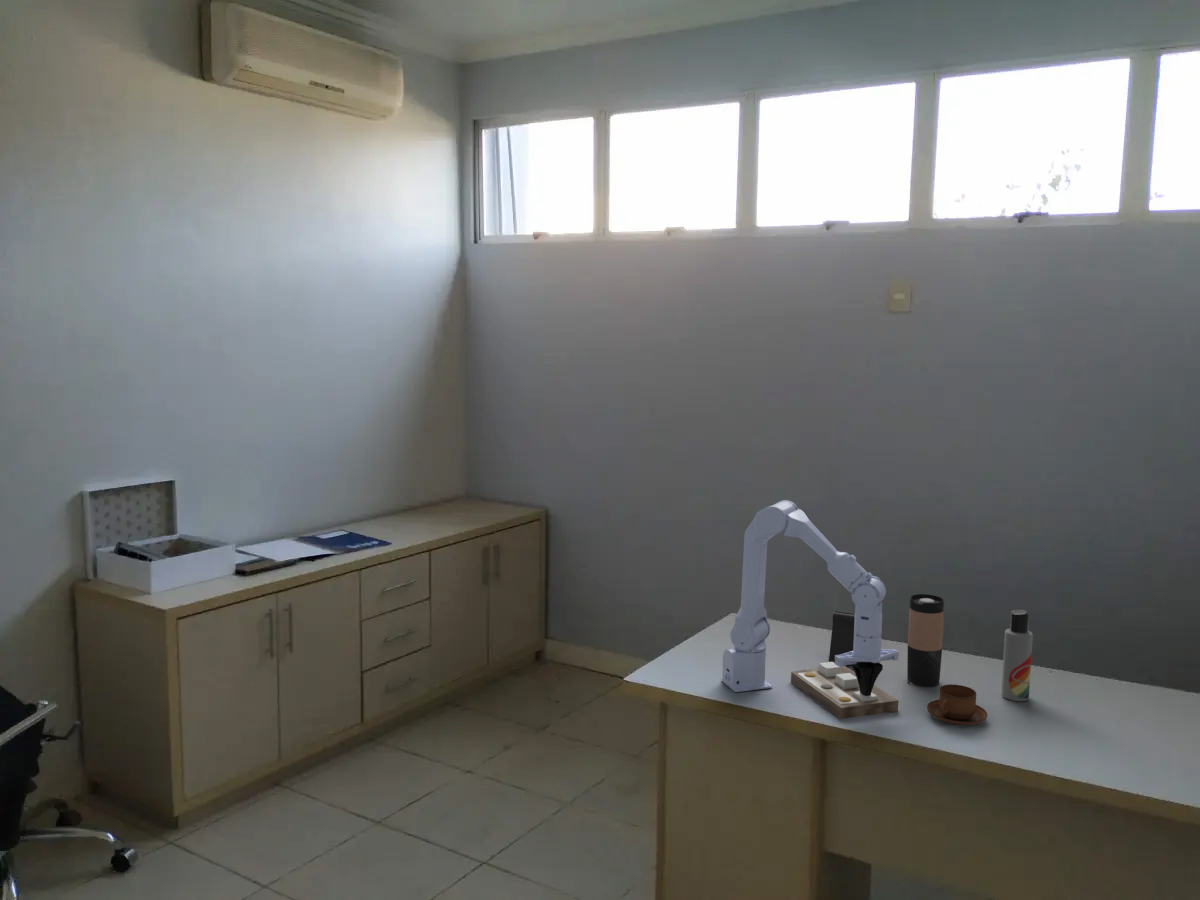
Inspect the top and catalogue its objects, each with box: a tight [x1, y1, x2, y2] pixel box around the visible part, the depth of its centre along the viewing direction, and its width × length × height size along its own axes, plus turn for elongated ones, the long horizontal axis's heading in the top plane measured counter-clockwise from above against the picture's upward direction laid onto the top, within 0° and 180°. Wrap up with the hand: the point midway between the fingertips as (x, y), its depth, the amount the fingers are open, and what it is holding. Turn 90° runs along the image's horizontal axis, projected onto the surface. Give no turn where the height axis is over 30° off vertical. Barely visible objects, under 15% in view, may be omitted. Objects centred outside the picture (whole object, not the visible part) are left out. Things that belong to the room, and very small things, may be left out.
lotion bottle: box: [1001, 609, 1034, 702], centre depth 210 cm, size 6×6×20 cm
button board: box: [790, 666, 899, 720], centre depth 211 cm, size 14×22×3 cm, turn 17°
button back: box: [818, 661, 841, 677], centre depth 218 cm, size 4×4×3 cm
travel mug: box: [906, 593, 945, 688], centre depth 219 cm, size 8×8×20 cm
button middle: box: [835, 673, 858, 689], centre depth 211 cm, size 4×4×3 cm
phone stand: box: [828, 610, 855, 668], centre depth 234 cm, size 9×6×12 cm, turn 153°
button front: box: [853, 691, 877, 702], centre depth 204 cm, size 4×4×3 cm
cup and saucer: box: [926, 683, 988, 726], centre depth 199 cm, size 12×12×6 cm
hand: (865, 694), depth 204 cm, fingers closed, pressing on button front
